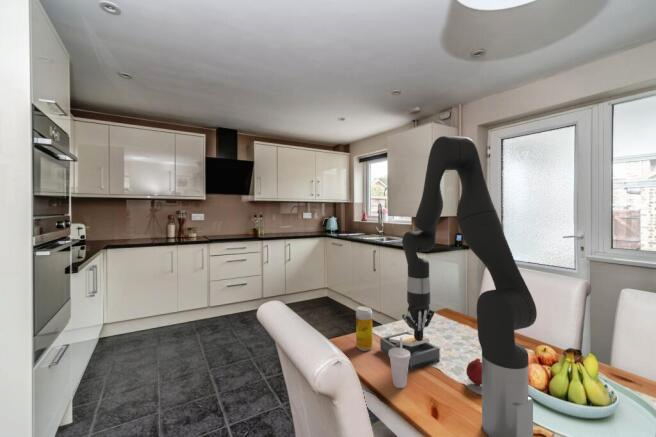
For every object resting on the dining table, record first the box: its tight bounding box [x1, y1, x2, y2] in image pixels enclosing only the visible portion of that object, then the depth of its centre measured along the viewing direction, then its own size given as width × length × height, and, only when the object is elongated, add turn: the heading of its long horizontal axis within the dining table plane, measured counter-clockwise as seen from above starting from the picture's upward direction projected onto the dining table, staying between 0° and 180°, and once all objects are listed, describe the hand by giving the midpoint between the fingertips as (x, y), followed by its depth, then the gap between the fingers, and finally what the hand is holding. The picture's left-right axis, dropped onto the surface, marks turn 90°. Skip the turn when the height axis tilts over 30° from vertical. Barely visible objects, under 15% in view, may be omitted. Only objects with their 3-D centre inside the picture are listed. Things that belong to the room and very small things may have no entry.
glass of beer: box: [355, 305, 374, 352], centre depth 110 cm, size 6×6×15 cm
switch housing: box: [379, 331, 441, 372], centre depth 104 cm, size 16×13×4 cm
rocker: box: [389, 334, 430, 347], centre depth 104 cm, size 12×10×2 cm
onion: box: [465, 357, 482, 386], centre depth 86 cm, size 6×6×8 cm
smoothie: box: [387, 338, 411, 389], centre depth 86 cm, size 6×6×14 cm
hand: (418, 339), depth 99 cm, fingers closed
